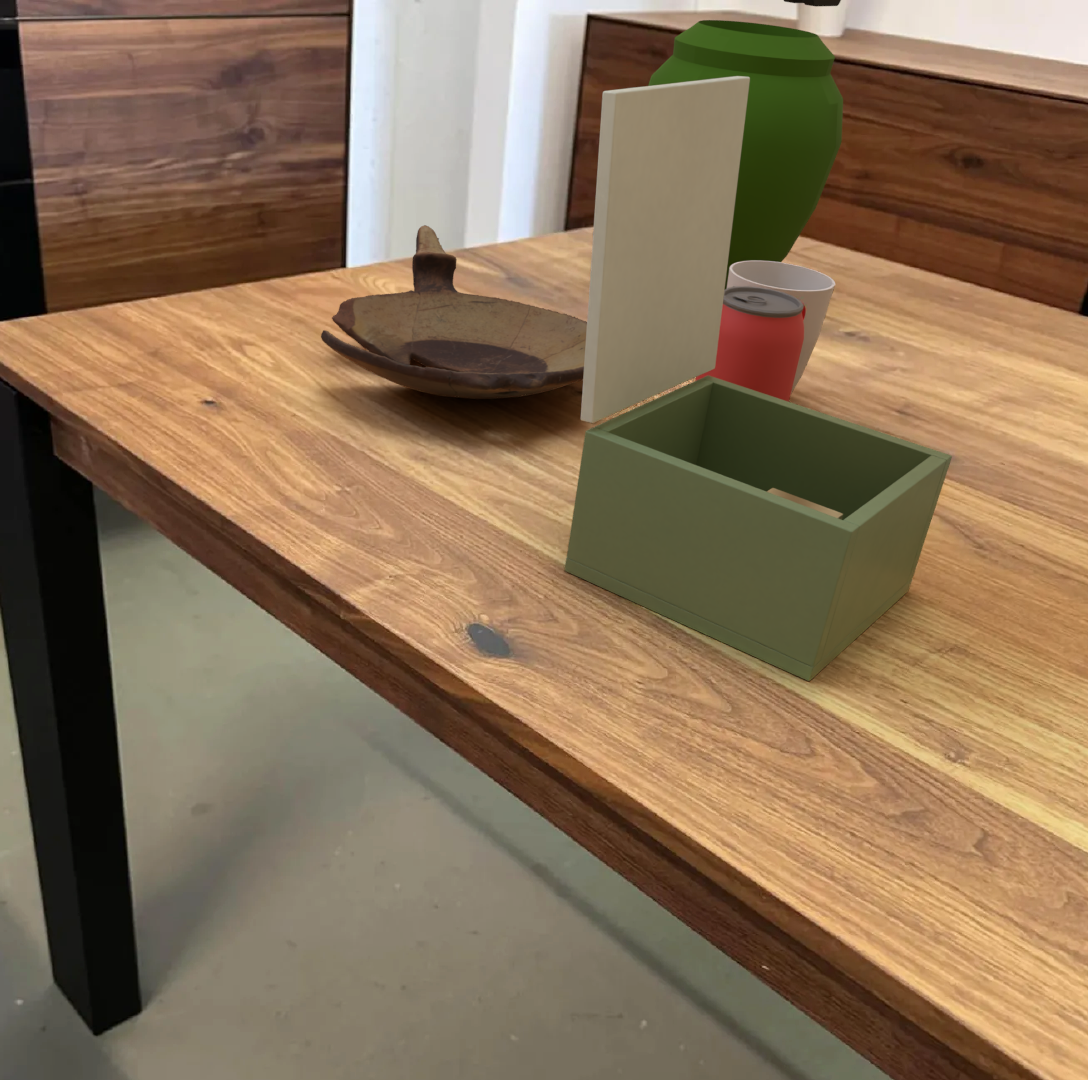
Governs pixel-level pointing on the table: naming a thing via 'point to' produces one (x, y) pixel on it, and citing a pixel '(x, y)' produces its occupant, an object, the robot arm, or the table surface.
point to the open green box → (753, 519)
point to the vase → (769, 124)
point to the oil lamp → (459, 336)
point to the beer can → (759, 340)
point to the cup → (793, 281)
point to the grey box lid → (660, 237)
